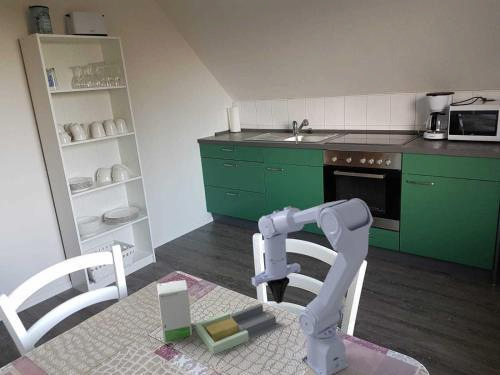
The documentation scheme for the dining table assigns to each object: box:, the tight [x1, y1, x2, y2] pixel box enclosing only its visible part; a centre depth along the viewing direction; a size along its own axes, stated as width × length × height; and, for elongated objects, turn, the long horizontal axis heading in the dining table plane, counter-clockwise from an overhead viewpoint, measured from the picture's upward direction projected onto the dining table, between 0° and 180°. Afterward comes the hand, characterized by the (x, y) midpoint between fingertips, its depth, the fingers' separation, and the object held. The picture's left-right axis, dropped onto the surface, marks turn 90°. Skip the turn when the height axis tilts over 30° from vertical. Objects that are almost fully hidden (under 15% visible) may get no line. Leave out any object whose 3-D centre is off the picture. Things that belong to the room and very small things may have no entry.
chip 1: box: [206, 322, 226, 342], centre depth 110 cm, size 4×4×3 cm
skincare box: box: [156, 279, 193, 345], centre depth 112 cm, size 8×7×16 cm
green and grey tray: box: [194, 303, 280, 355], centre depth 113 cm, size 12×20×4 cm, turn 119°
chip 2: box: [219, 318, 240, 338], centre depth 112 cm, size 4×4×3 cm
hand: (278, 301), depth 111 cm, fingers closed
